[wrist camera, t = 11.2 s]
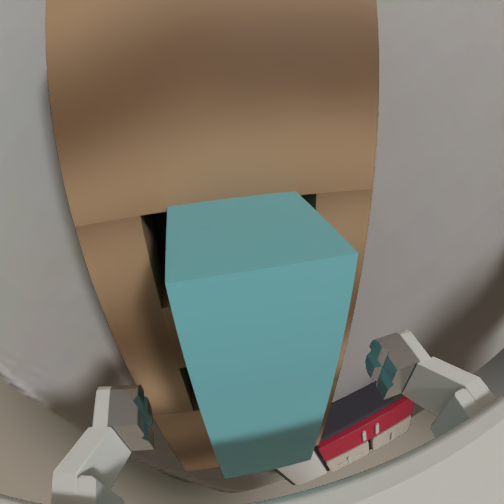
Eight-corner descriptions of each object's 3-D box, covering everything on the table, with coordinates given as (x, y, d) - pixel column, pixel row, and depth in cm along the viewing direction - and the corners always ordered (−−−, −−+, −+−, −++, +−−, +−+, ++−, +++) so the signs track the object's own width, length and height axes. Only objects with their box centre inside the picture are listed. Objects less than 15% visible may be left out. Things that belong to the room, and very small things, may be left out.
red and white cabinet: (412, 430, 29) (295, 491, 28) (395, 405, 32) (283, 462, 32) (422, 389, 23) (267, 470, 22) (397, 358, 27) (253, 431, 26)
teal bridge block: (169, 172, 13) (165, 283, 6) (263, 161, 13) (358, 252, 7) (201, 356, 18) (224, 479, 11) (267, 344, 19) (310, 459, 12)
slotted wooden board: (85, -4, 8) (48, -37, 4) (317, -17, 10) (371, -46, 6) (179, 423, 22) (185, 471, 19) (300, 400, 24) (318, 444, 20)
